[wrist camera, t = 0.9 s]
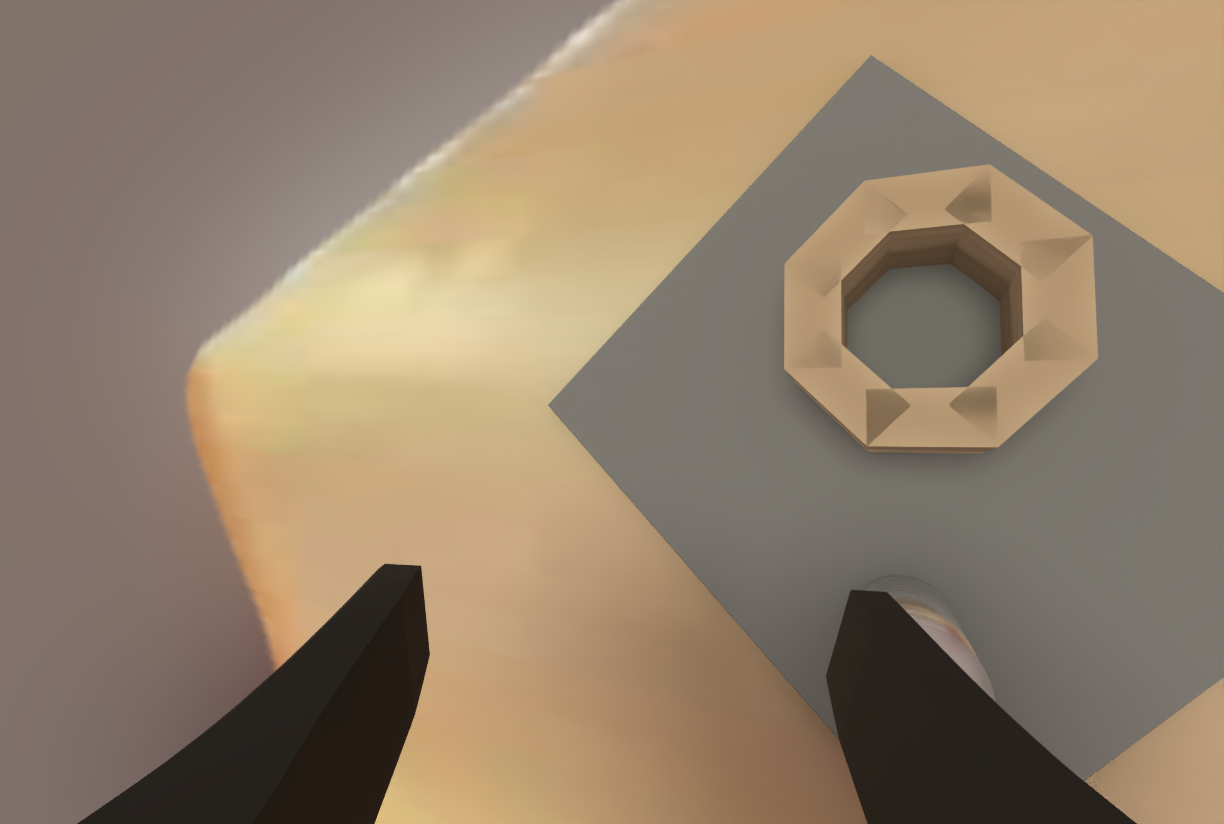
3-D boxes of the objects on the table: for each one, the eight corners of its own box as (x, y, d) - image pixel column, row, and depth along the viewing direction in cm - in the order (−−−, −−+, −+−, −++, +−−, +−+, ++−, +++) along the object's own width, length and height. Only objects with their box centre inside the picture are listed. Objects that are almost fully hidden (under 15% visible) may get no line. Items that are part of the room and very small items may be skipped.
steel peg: (977, 631, 20) (1032, 713, 13) (902, 693, 21) (912, 806, 13) (900, 554, 21) (909, 589, 14) (830, 616, 22) (803, 682, 14)
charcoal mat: (1474, 475, 17) (1494, 475, 16) (954, 864, 20) (957, 875, 20) (871, 65, 24) (871, 55, 23) (554, 407, 27) (547, 405, 26)
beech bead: (1125, 323, 20) (1173, 291, 16) (924, 504, 21) (931, 506, 18) (918, 172, 22) (924, 118, 19) (751, 342, 24) (730, 319, 20)
